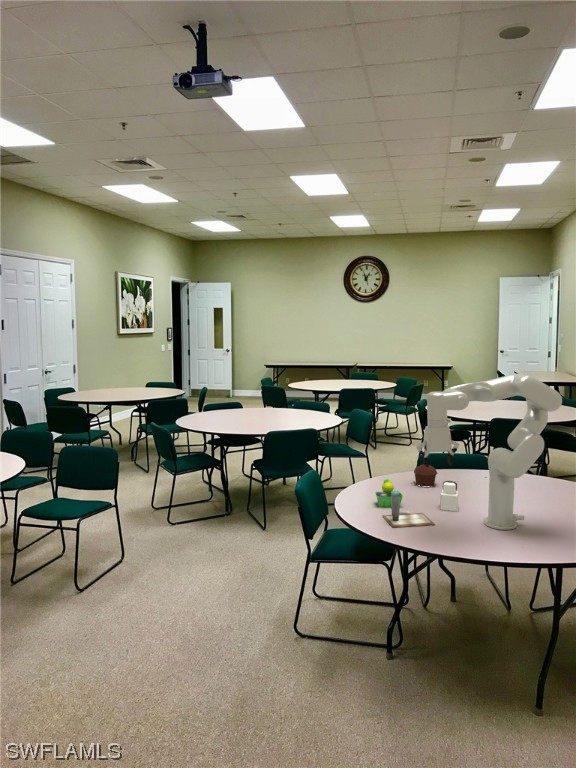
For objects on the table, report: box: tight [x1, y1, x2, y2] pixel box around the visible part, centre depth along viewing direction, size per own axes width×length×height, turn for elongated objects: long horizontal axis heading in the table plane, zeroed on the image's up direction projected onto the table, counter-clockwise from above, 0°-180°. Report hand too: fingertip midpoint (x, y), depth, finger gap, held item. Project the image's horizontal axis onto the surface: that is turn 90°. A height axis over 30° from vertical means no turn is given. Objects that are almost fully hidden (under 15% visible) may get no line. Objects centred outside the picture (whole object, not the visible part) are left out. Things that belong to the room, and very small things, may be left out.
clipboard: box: [382, 511, 436, 529], centre depth 235 cm, size 18×13×2 cm
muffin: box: [413, 464, 438, 487], centre depth 285 cm, size 12×11×10 cm
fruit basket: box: [375, 478, 404, 508], centre depth 255 cm, size 11×9×11 cm
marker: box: [391, 490, 401, 521], centre depth 234 cm, size 3×3×12 cm
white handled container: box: [440, 480, 459, 512], centre depth 250 cm, size 7×7×12 cm
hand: (438, 465), depth 224 cm, fingers open, 9 cm apart
